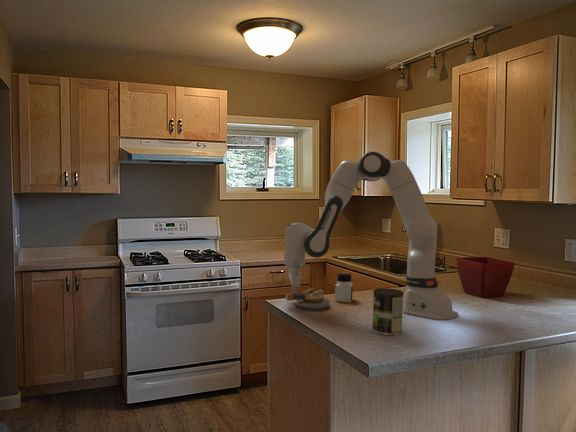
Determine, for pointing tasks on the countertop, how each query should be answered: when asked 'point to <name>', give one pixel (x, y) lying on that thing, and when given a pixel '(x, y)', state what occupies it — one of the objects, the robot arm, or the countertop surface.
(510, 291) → the countertop surface
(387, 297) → the coffee can
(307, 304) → the plate
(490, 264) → the plant pot
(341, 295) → the medicine bottle
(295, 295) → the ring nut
